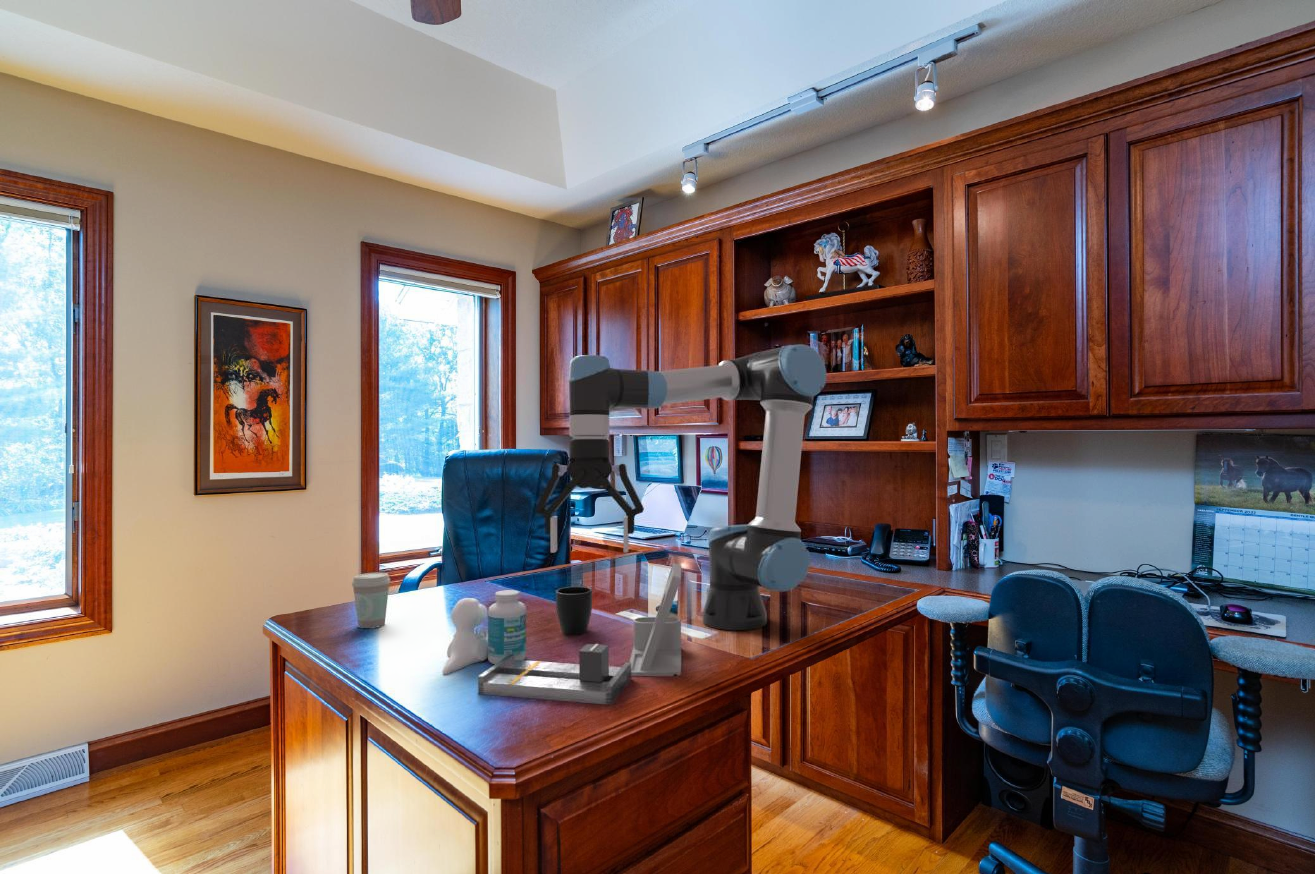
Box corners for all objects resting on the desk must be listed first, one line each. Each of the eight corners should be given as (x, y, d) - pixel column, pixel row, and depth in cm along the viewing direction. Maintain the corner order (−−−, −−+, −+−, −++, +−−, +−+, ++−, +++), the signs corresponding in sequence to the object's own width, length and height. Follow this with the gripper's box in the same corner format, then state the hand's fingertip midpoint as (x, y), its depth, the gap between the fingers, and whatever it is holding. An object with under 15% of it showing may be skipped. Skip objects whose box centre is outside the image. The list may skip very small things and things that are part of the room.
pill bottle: (507, 669, 123) (506, 598, 123) (480, 662, 127) (479, 593, 127) (534, 658, 129) (533, 590, 130) (507, 652, 133) (507, 586, 134)
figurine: (509, 646, 137) (508, 588, 137) (464, 676, 120) (463, 609, 120) (473, 644, 139) (473, 586, 139) (423, 673, 122) (423, 606, 122)
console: (631, 678, 117) (631, 662, 117) (611, 704, 105) (611, 686, 105) (509, 669, 123) (509, 653, 123) (478, 693, 111) (478, 676, 111)
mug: (600, 622, 154) (600, 583, 155) (587, 637, 143) (586, 594, 143) (567, 621, 156) (567, 582, 156) (551, 636, 144) (551, 593, 144)
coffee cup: (347, 625, 155) (346, 575, 155) (383, 618, 161) (383, 570, 161) (358, 632, 149) (358, 580, 149) (396, 625, 155) (395, 575, 155)
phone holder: (634, 646, 136) (633, 561, 136) (682, 646, 136) (681, 560, 136) (627, 676, 119) (625, 578, 119) (682, 676, 118) (680, 577, 119)
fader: (608, 678, 114) (608, 644, 114) (601, 686, 110) (601, 651, 110) (587, 676, 115) (587, 642, 115) (579, 685, 111) (579, 649, 111)
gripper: (656, 438, 125) (656, 548, 124) (528, 439, 126) (528, 548, 125) (655, 437, 117) (655, 554, 117) (518, 438, 118) (519, 554, 118)
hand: (589, 551), depth 121 cm, fingers open, 13 cm apart
